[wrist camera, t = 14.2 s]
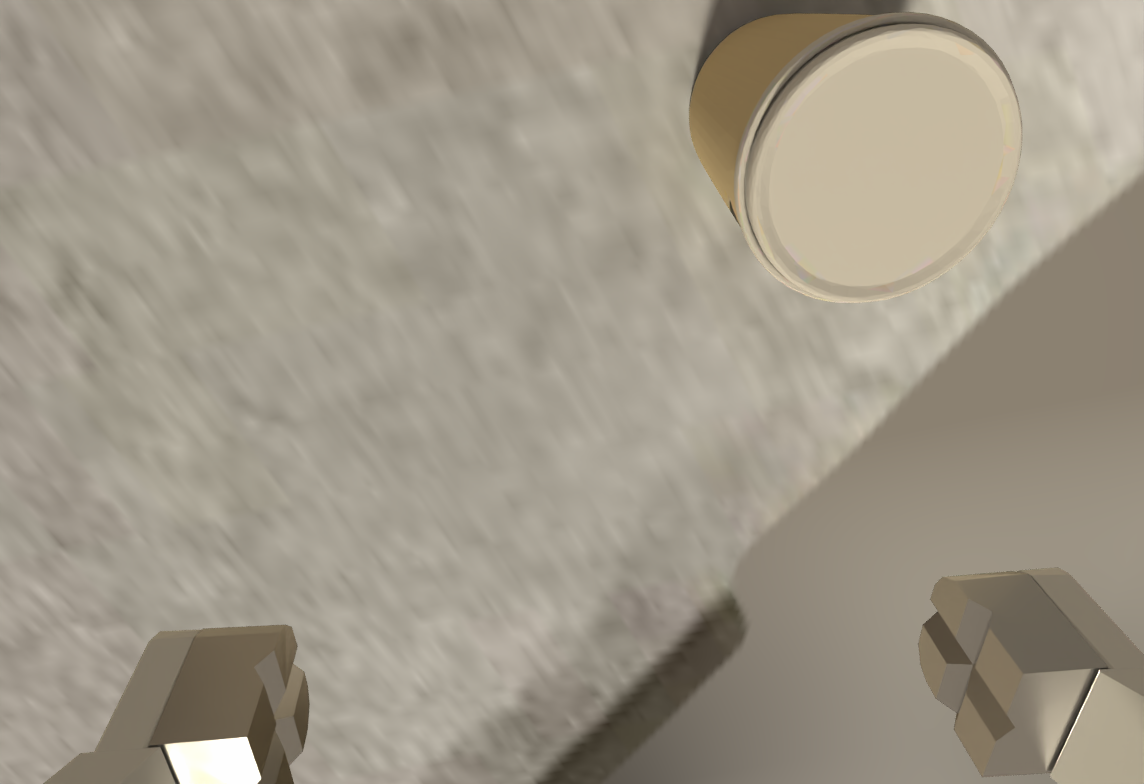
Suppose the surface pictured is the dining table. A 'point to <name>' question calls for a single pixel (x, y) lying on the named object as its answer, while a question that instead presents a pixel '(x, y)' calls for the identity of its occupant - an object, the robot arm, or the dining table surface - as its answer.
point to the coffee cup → (858, 146)
